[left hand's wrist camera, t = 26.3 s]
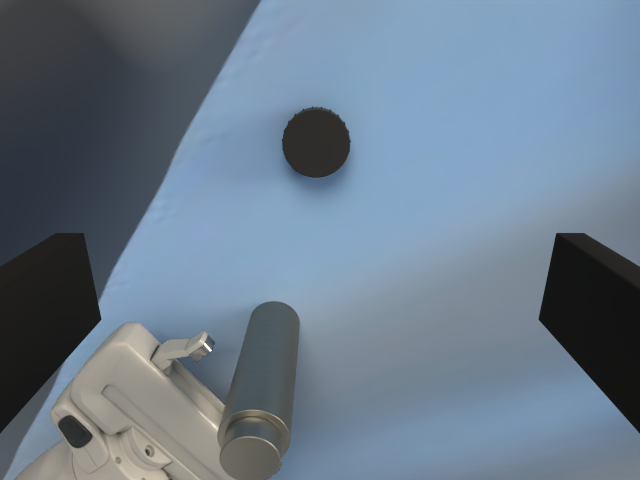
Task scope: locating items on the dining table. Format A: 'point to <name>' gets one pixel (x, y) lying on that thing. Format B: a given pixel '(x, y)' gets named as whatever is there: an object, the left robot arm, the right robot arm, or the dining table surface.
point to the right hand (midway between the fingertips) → (243, 375)
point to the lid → (316, 142)
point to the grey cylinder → (261, 395)
